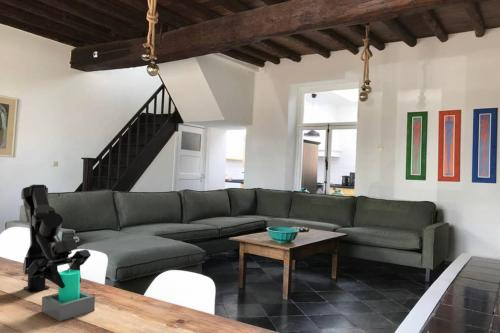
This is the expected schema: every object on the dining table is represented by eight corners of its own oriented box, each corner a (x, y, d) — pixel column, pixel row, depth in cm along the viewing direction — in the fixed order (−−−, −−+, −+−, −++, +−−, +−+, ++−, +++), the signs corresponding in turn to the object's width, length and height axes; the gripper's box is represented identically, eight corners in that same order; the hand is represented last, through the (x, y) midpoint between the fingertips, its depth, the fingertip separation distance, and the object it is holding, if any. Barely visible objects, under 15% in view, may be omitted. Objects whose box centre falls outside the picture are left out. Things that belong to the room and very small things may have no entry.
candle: (71, 310, 116) (71, 271, 116) (53, 308, 118) (54, 269, 117) (83, 302, 122) (84, 265, 122) (66, 300, 124) (67, 263, 123)
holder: (41, 311, 119) (42, 296, 119) (75, 302, 127) (76, 288, 127) (59, 321, 112) (60, 305, 112) (94, 310, 121) (94, 296, 121)
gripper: (34, 233, 113) (56, 277, 108) (88, 225, 130) (109, 263, 124) (17, 255, 117) (38, 299, 112) (72, 245, 134) (92, 283, 128)
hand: (71, 285), depth 119 cm, fingers closed on candle, 5 cm apart
